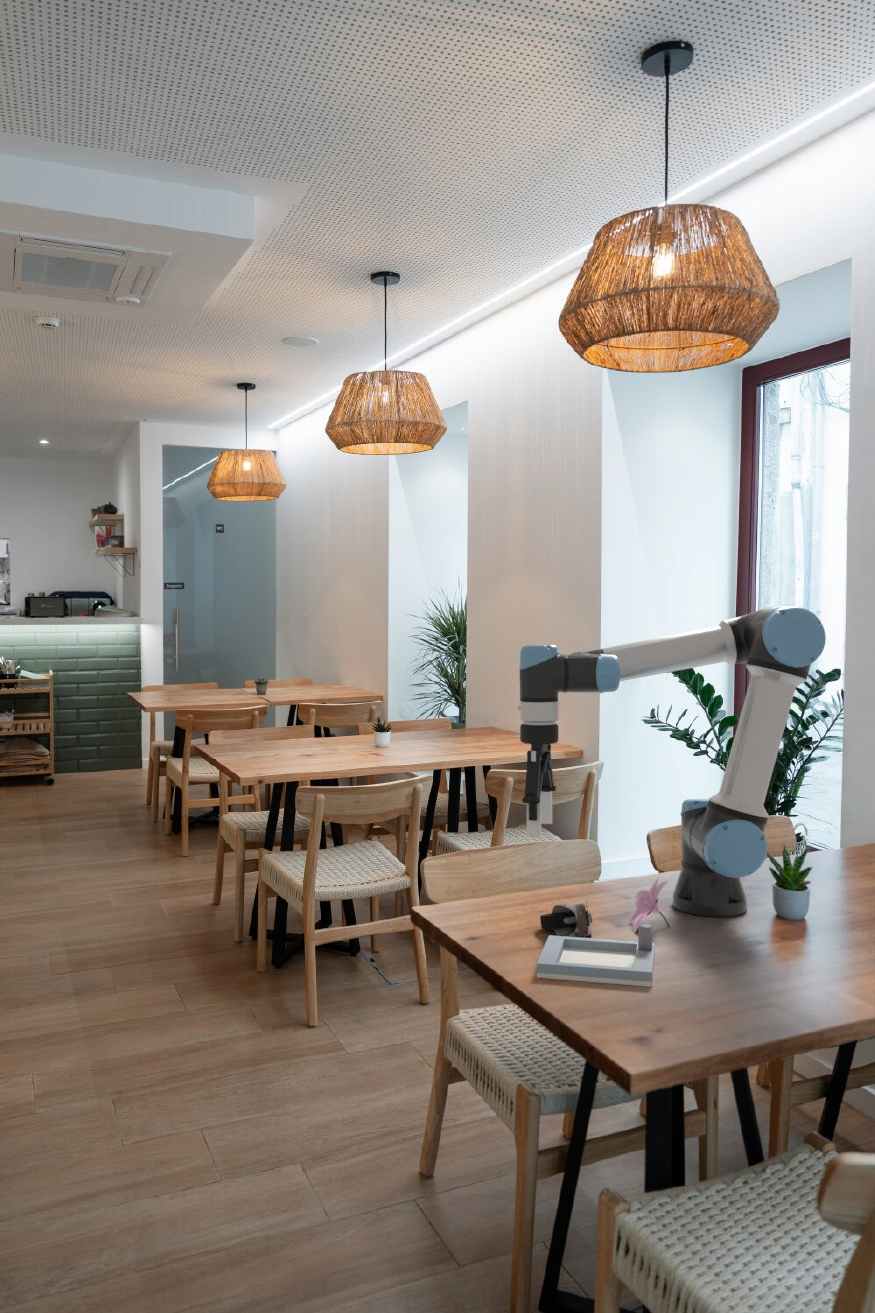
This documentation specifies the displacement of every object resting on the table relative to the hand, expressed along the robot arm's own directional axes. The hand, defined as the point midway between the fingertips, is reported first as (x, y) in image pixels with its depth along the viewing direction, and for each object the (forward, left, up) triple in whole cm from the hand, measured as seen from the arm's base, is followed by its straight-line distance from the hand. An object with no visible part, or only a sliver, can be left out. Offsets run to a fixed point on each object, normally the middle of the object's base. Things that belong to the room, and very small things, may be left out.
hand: (539, 830), depth 195 cm
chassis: (-13, +21, -19) cm, 31 cm away
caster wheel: (-5, +4, -19) cm, 21 cm away
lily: (-21, -5, -19) cm, 29 cm away
